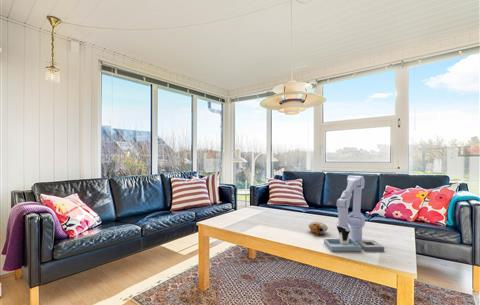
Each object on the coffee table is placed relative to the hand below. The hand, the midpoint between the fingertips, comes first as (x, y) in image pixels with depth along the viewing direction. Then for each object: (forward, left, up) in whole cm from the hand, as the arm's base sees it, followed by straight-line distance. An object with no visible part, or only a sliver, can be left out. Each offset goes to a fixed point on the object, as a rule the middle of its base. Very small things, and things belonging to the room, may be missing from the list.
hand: (343, 239), depth 151 cm
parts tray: (0, -1, -5) cm, 5 cm away
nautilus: (-28, -9, -5) cm, 29 cm away
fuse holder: (0, +16, -5) cm, 17 cm away
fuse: (0, 0, -3) cm, 3 cm away
